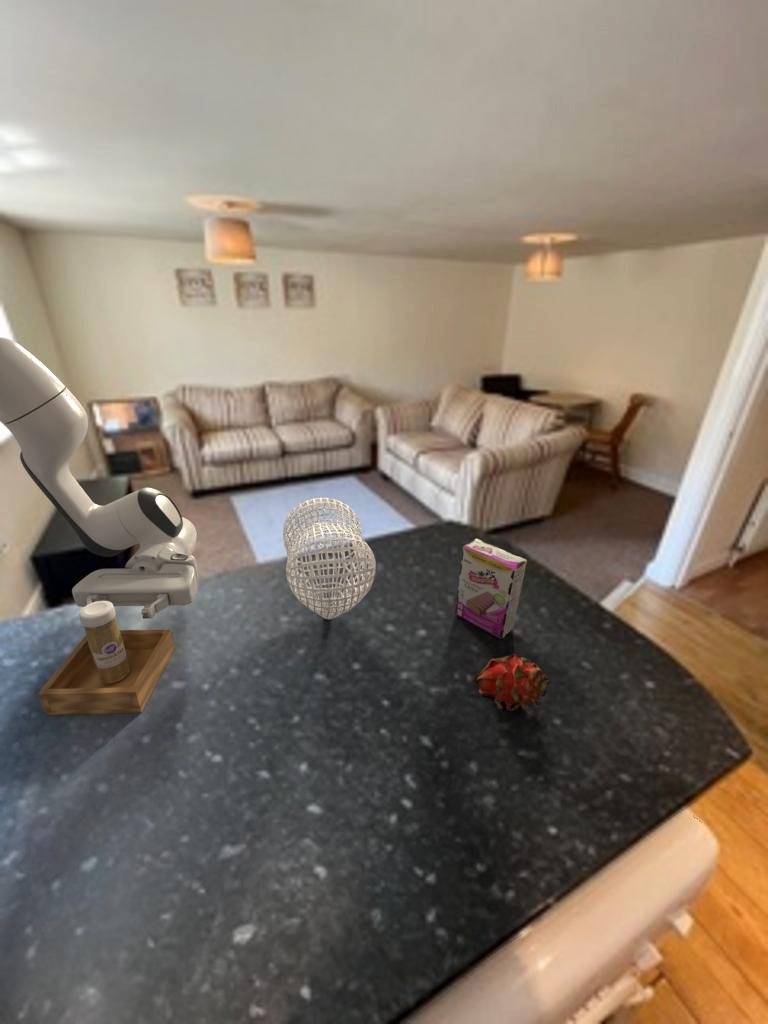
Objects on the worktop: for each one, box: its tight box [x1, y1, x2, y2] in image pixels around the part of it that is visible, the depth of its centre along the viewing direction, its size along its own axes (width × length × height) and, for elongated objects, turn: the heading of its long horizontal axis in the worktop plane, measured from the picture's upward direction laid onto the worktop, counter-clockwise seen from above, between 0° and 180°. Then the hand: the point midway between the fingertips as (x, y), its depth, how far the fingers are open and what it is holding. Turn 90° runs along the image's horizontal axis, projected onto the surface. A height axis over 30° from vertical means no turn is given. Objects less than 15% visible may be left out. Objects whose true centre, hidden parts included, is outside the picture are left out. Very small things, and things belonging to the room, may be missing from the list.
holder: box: [37, 629, 176, 716], centre depth 73 cm, size 14×14×4 cm
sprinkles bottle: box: [78, 601, 130, 684], centre depth 71 cm, size 5×5×14 cm
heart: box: [282, 497, 377, 620], centre depth 86 cm, size 28×16×22 cm, turn 14°
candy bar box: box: [454, 538, 528, 638], centre depth 86 cm, size 11×5×16 cm, turn 46°
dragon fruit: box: [471, 653, 550, 712], centre depth 71 cm, size 8×8×12 cm
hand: (117, 615), depth 74 cm, fingers open, 8 cm apart
